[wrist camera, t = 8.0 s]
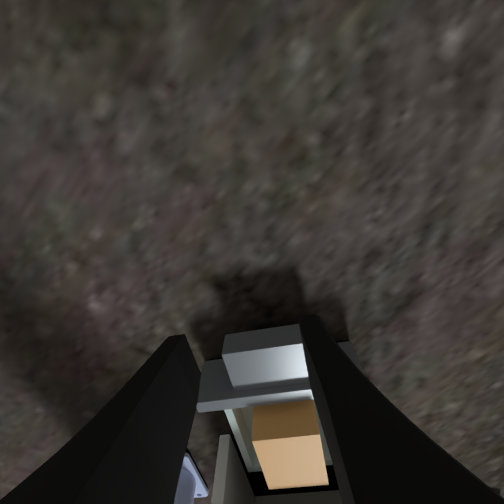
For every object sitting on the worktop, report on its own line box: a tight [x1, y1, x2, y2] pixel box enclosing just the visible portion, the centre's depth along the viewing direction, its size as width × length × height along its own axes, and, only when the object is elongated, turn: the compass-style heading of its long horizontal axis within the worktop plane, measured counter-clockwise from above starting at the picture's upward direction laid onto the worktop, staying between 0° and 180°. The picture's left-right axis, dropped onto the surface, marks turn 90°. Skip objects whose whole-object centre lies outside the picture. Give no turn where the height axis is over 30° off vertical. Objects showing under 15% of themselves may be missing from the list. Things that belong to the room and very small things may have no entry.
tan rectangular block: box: [252, 400, 329, 489], centre depth 20 cm, size 4×6×4 cm
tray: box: [196, 324, 365, 472], centre depth 20 cm, size 12×15×4 cm
